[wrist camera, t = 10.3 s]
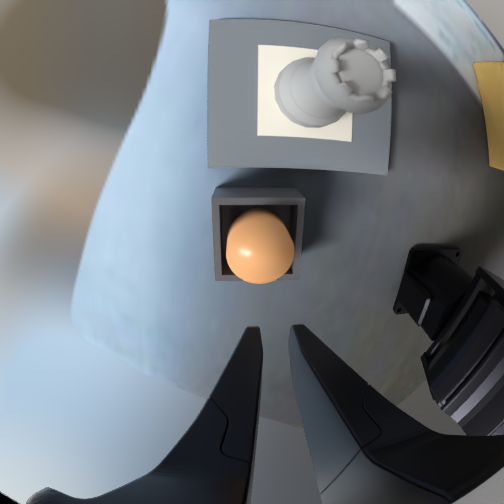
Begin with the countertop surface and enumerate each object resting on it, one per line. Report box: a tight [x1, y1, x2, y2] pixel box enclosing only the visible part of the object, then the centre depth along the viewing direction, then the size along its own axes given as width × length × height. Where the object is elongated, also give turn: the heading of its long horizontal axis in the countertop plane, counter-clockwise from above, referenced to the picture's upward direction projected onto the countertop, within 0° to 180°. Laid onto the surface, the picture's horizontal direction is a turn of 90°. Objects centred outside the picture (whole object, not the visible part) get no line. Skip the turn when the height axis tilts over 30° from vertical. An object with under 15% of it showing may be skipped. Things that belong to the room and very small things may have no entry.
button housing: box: [212, 187, 306, 281], centre depth 17 cm, size 5×5×3 cm
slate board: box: [207, 19, 392, 175], centre depth 15 cm, size 12×10×1 cm
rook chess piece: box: [274, 36, 396, 128], centre depth 11 cm, size 4×4×8 cm
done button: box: [226, 208, 294, 284], centre depth 16 cm, size 4×4×2 cm
